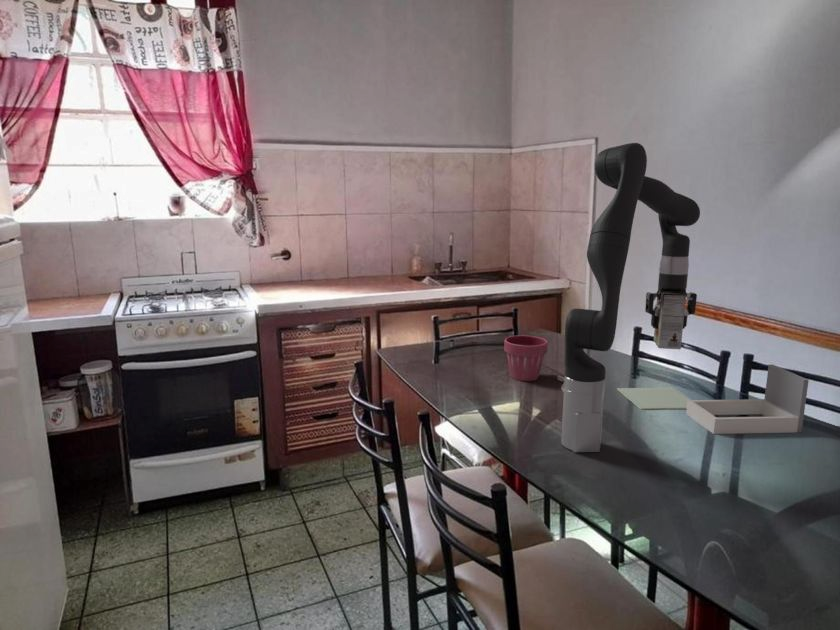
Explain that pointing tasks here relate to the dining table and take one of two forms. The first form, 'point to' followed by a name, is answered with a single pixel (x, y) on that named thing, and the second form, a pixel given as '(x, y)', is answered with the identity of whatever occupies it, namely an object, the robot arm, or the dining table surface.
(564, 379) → the pliers
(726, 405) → the case
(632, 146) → the robot arm
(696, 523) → the dining table surface
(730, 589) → the dining table surface
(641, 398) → the mat
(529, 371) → the plant pot
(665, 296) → the coffee box
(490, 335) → the dining table surface
